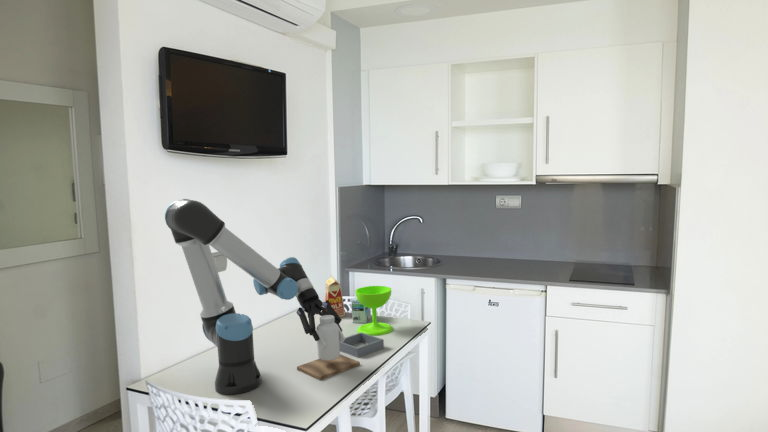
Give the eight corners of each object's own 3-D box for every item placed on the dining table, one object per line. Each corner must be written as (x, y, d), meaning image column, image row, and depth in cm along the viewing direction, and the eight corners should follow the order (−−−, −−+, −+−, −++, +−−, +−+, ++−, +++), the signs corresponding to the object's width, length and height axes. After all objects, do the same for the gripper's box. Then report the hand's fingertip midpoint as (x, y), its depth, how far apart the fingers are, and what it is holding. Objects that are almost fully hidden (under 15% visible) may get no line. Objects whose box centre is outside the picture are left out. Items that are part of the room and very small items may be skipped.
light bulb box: (366, 323, 239) (365, 300, 238) (352, 323, 240) (350, 300, 239) (371, 316, 249) (370, 294, 248) (357, 316, 251) (356, 294, 250)
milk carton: (323, 314, 257) (321, 274, 255) (341, 312, 259) (339, 272, 257) (327, 319, 248) (324, 278, 246) (345, 316, 251) (343, 276, 249)
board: (319, 380, 177) (319, 376, 177) (297, 369, 187) (296, 366, 187) (359, 364, 189) (359, 361, 189) (336, 355, 199) (336, 352, 199)
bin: (357, 357, 196) (357, 348, 196) (335, 349, 206) (335, 340, 206) (383, 347, 206) (383, 339, 205) (361, 340, 216) (361, 332, 215)
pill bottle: (342, 358, 186) (340, 318, 184) (321, 362, 183) (318, 321, 181) (336, 351, 193) (334, 312, 191) (315, 355, 190) (313, 315, 189)
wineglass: (397, 325, 234) (395, 286, 232) (386, 336, 219) (385, 295, 217) (364, 323, 239) (362, 285, 237) (351, 334, 224) (349, 293, 222)
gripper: (323, 293, 204) (351, 341, 194) (278, 305, 190) (306, 357, 180) (331, 282, 200) (360, 331, 190) (285, 293, 186) (314, 346, 176)
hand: (333, 344), depth 185 cm, fingers closed on pill bottle, 8 cm apart
